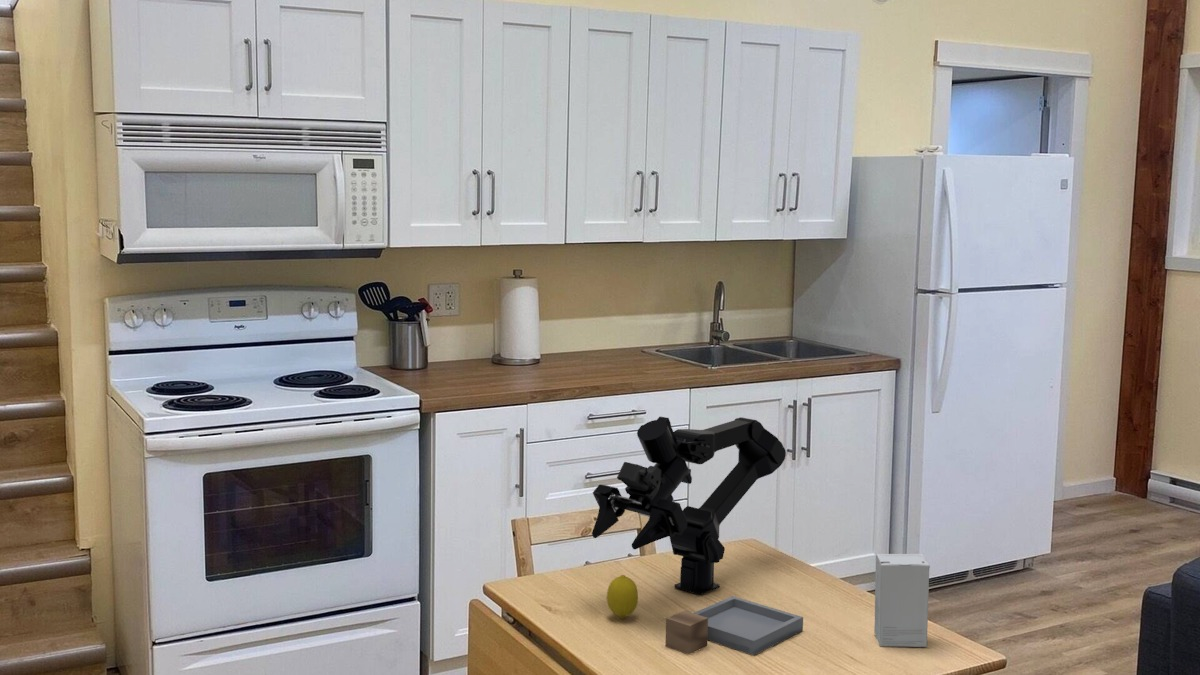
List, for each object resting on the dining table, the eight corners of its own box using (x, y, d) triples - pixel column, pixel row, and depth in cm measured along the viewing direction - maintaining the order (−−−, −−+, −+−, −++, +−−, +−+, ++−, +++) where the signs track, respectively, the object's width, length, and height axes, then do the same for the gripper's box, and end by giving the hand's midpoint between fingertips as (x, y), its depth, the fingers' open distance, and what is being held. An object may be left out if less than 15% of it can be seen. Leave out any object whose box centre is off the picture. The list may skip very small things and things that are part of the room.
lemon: (634, 625, 208) (635, 581, 207) (603, 622, 209) (604, 578, 208) (640, 614, 214) (640, 571, 213) (609, 611, 215) (610, 568, 214)
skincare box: (920, 635, 206) (924, 552, 204) (927, 649, 200) (932, 564, 198) (871, 633, 206) (875, 551, 204) (877, 647, 200) (881, 562, 198)
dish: (732, 609, 217) (732, 596, 216) (802, 630, 207) (803, 617, 207) (681, 631, 206) (682, 617, 205) (753, 655, 196) (753, 641, 195)
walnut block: (683, 638, 203) (684, 610, 202) (707, 646, 200) (708, 617, 199) (665, 646, 199) (666, 618, 199) (689, 654, 196) (689, 626, 195)
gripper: (607, 440, 218) (557, 498, 209) (688, 457, 206) (638, 519, 197) (628, 484, 224) (579, 542, 215) (707, 503, 211) (659, 566, 203)
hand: (612, 541), depth 207 cm, fingers open, 9 cm apart
